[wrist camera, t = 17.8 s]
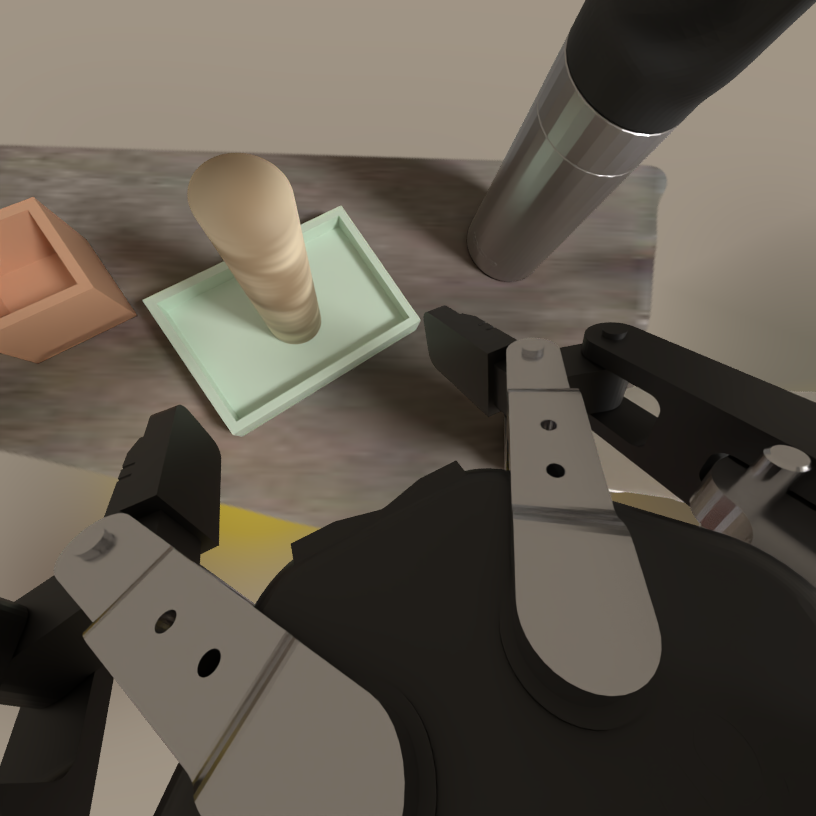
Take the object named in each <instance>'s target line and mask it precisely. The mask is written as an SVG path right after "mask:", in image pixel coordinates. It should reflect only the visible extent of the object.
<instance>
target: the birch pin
mask: <svg viewBox="0 0 816 816" xmlns="http://www.w3.org/2000/svg"><path fill="white" fill-rule="evenodd" d="M187 194H188V202H189V206H190V209H191V211H192V213H193V215H194V217H195V218H196V220H197V221H198V223H199V224H200V226H201V227H202V229H203V230H204V232H205V233H206V235H207V236H208V238H209V239H210V241H211V242H212V244H213V245H214V247H215V248H216V250H217V251H218V253H219V254H220V256H221V257H222V259H223V260H224V262H225V263H226V265H227V266H228V268H229V269H230V271H231V272H232V274H233V275H234V277H235V278H236V280H237V281H238V283H239V284H240V286H241V287H242V289H243V290H244V292H245V293H246V295H247V296H248V298H249V299H250V301H251V302H252V304H253V305H254V307H255V308H256V310H257V311H258V313H259V314H260V316H261V317H262V319H263V320H264V322H265V323H266V325H267V326H268V328H269V329H270V331H271V332H272V334H273V335H274V336H275V337H276V338H278V339H279V340H281V341H283V342H285V343H288V344H302V343H305V342H307V341H309V340H311V339H312V338H313V337H315V335H316V334H317V333H318V331H319V329H320V326H321V314H320V310H319V305H318V301H317V296H316V292H315V288H314V283H313V279H312V274H311V270H310V265H309V261H308V256H307V252H306V247H305V243H304V238H303V234H302V229H301V225H300V220H299V216H298V212H297V207H296V203H295V198H294V194H293V190H292V187H291V185H290V183H289V181H288V179H287V178H286V176H285V175H284V174H283V173H282V172H281V171H280V170H279V169H278V168H277V167H276V166H275V165H273V164H272V163H270V162H269V161H267V160H265V159H263V158H260V157H257V156H254V155H251V154H245V153H228V154H222V155H219V156H216V157H213V158H211V159H209V160H208V161H206V162H204V163H203V164H202V165H201V166H199V168H198V169H197V170H196V171H195V172H194V174H193V175H192V177H191V180H190V182H189V186H188V193H187Z"/></svg>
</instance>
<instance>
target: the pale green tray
mask: <svg viewBox="0 0 816 816" xmlns="http://www.w3.org/2000/svg"><path fill="white" fill-rule="evenodd" d="M301 229H302V234H303V238H304V243H305V247H306V252H307V256H308V261H309V265H310V270H311V274H312V279H313V283H314V288H315V292H316V296H317V301H318V305H319V310H320V314H321V326H320V329H319V331H318V333H317V334H316V335H315V337H313V338H312V339H311V340H309V341H307V342H305V343H302V344H288V343H285V342H283V341H281V340H279V339H278V338H276V337H275V336H274V335H273V334H272V332H271V331H270V329H269V328H268V326H267V325H266V323H265V322H264V320H263V319H262V317H261V316H260V314H259V313H258V311H257V310H256V308H255V307H254V305H253V304H252V302H251V301H250V299H249V298H248V296H247V295H246V293H245V292H244V290H243V289H242V287H241V286H240V284H239V283H238V281H237V280H236V278H235V277H234V275H233V274H232V272H231V271H230V269H229V268H228V266H227V265H226V263H225V262H224V261H223V262H221V263H219V264H217V265H215V266H213V267H211V268H209V269H207V270H204V271H202V272H200V273H198V274H196V275H194V276H192V277H190V278H188V279H186V280H183V281H181V282H179V283H177V284H175V285H173V286H171V287H169V288H167V289H165V290H162V291H160V292H158V293H156V294H154V295H152V296H150V297H148V298H146V299H143V300H142V301H143V302H144V304H145V305H146V307H147V308H148V310H149V311H150V313H151V314H152V316H153V317H154V318H155V320H156V321H157V323H158V324H159V326H160V327H161V329H162V330H163V332H164V333H165V335H166V336H167V338H168V339H169V341H170V342H171V344H172V345H173V347H174V348H175V350H176V351H177V353H178V354H179V356H180V357H181V359H182V360H183V362H184V363H185V365H186V366H187V368H188V369H189V371H190V372H191V374H192V375H193V377H194V378H195V380H196V381H197V382H198V384H199V385H200V387H201V388H202V390H203V391H204V393H205V394H206V396H207V397H208V399H209V400H210V402H211V403H212V405H213V406H214V408H215V409H216V411H217V412H218V414H219V415H220V417H221V418H222V420H223V421H224V423H225V424H226V426H227V427H228V429H229V430H230V432H231V433H232V435H236V436H244V435H246V434H248V433H249V432H251V431H253V430H254V429H256V428H257V427H259V426H261V425H262V424H264V423H265V422H267V421H269V420H270V419H272V418H274V417H275V416H277V415H278V414H280V413H282V412H283V411H285V410H287V409H288V408H290V407H291V406H293V405H295V404H296V403H298V402H300V401H301V400H303V399H304V398H306V397H308V396H309V395H311V394H313V393H314V392H316V391H317V390H319V389H321V388H322V387H324V386H326V385H327V384H329V383H330V382H332V381H334V380H335V379H337V378H339V377H340V376H342V375H343V374H345V373H347V372H348V371H350V370H352V369H353V368H355V367H356V366H358V365H360V364H361V363H363V362H364V361H366V360H368V359H369V358H371V357H373V356H374V355H376V354H377V353H379V352H381V351H382V350H384V349H386V348H387V347H389V346H390V345H392V344H394V343H395V342H397V341H399V340H400V339H402V338H403V337H405V336H407V335H408V334H410V333H412V332H413V331H415V330H416V328H417V326H418V324H419V323H420V321H421V320H420V319H419V317H418V316H417V314H416V313H415V311H414V310H413V308H412V307H411V306H410V304H409V303H408V301H407V300H406V298H405V297H404V295H403V294H402V293H401V291H400V290H399V288H398V287H397V285H396V284H395V282H394V281H393V280H392V278H391V277H390V275H389V274H388V272H387V271H386V269H385V268H384V267H383V265H382V264H381V262H380V261H379V259H378V258H377V256H376V255H375V254H374V252H373V251H372V249H371V248H370V246H369V245H368V243H367V242H366V241H365V239H364V238H363V236H362V235H361V233H360V232H359V230H358V229H357V228H356V226H355V225H354V223H353V222H352V220H351V219H350V218H349V216H348V215H347V213H346V212H345V210H344V209H343V207H342V206H339V207H337V208H335V209H333V210H331V211H329V212H326V213H324V214H322V215H320V216H318V217H316V218H314V219H312V220H310V221H307V222H305V223H303V224H301Z"/></svg>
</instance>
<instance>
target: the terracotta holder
mask: <svg viewBox="0 0 816 816" xmlns="http://www.w3.org/2000/svg"><path fill="white" fill-rule="evenodd" d="M135 316H137V314H136V313H135V311H134V310H133V308H132V307H131V305H130V304H129V302H128V301H127V299H126V298H125V296H124V295H123V293H122V292H121V290H120V289H119V287H118V286H117V284H116V283H115V281H114V280H113V278H112V277H111V275H110V274H109V272H108V271H107V270H106V268H105V267H104V265H103V264H102V262H101V261H100V259H99V258H98V256H97V255H96V253H95V252H94V250H93V249H92V247H91V246H90V244H89V243H88V241H87V240H86V239H85V238H84V237H82V236H81V235H80V234H79V233H78V232H76V231H75V230H74V229H73V228H71V227H70V226H69V225H68V224H66V223H65V222H64V221H63V220H61V219H60V218H59V217H58V216H56V215H55V214H54V213H53V212H51V211H50V210H49V209H48V208H46V207H45V206H44V205H43V204H41V203H40V202H39V201H38V200H37V199H35V198H34V197H32V198H29V199H27V200H24V201H21V202H19V203H16V204H13V205H11V206H8V207H5V208H3V209H0V353H3V354H6V355H9V356H13V357H16V358H20V359H23V360H27V361H30V362H34V363H37V364H38V363H40V362H42V361H45V360H47V359H49V358H51V357H53V356H55V355H57V354H59V353H61V352H63V351H65V350H67V349H69V348H71V347H73V346H75V345H78V344H80V343H82V342H84V341H86V340H88V339H90V338H92V337H94V336H96V335H98V334H100V333H102V332H104V331H106V330H108V329H111V328H113V327H115V326H117V325H119V324H121V323H123V322H125V321H127V320H129V319H131V318H133V317H135Z"/></svg>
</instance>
